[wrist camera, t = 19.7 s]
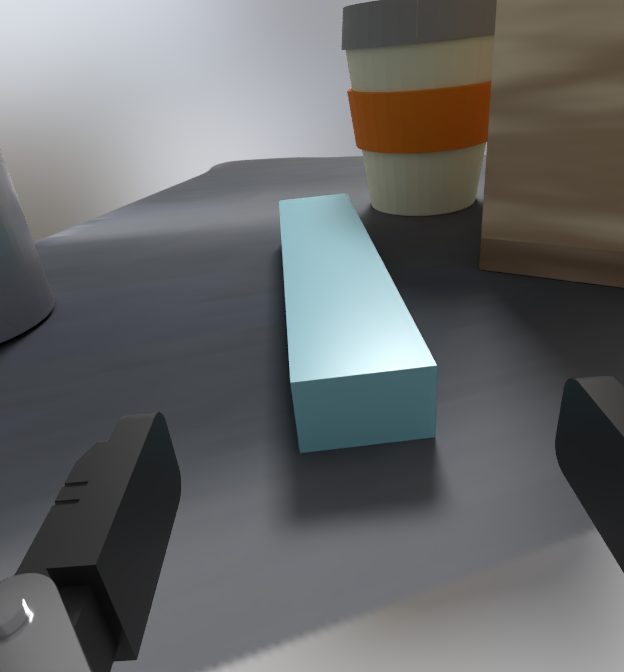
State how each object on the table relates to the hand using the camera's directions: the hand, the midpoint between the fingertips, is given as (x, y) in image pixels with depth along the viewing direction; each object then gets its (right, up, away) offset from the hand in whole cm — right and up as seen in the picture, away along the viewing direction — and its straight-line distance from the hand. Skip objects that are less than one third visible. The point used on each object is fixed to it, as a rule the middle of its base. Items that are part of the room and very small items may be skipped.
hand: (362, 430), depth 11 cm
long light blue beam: (0, +5, +19) cm, 19 cm away
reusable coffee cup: (+9, +14, +36) cm, 39 cm away
